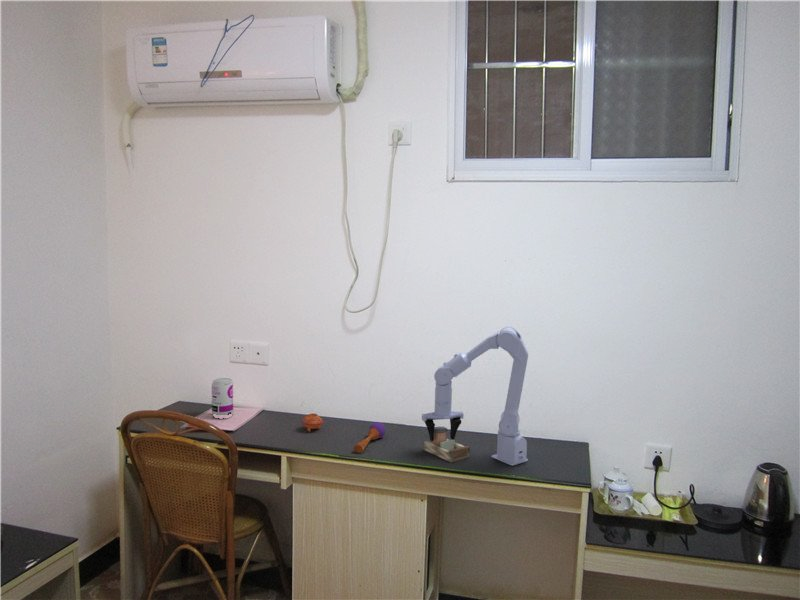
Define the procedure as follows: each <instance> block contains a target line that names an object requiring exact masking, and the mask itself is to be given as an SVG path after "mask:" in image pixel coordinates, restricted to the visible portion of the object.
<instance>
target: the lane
mask: <svg viewBox="0 0 800 600" xmlns="http://www.w3.org/2000/svg"><path fill="white" fill-rule="evenodd" d="M448 440H450V439H448V438H447V441H448ZM423 445H424V447H423V450H424V451H425V452H428V453H430V454H432V455H435V456H436V457H438V458H440V459H443V460H445V461H447V462H449V463H454V461H455V462H459V461H461V460H466V459H468V458H470V456H471V455H470V453H471V446H469V445H466V446H464V445H463V444H460V443H459V442H456V441H455V444H454V450H450V451H448V450H446V449H443V448H441V447H439V446H437V445H434V444H433V441H430V442H429V441H428V440H425V441H424V444H423Z"/></svg>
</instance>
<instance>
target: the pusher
mask: <svg viewBox="0 0 800 600" xmlns="http://www.w3.org/2000/svg"><path fill="white" fill-rule="evenodd" d="M455 442H456V440H455V439H454V440H453V439H449V440H448V441H444V442H440V447H441V448H443V449H446V450H448V451H450V450H454V444H455Z"/></svg>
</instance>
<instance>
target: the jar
mask: <svg viewBox="0 0 800 600" xmlns="http://www.w3.org/2000/svg"><path fill="white" fill-rule="evenodd" d="M447 439H448V428H447V427H445V426H435V427H434V441H432V442H433V444H434V445H437V446H439V447H440V442H444V441H447Z"/></svg>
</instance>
